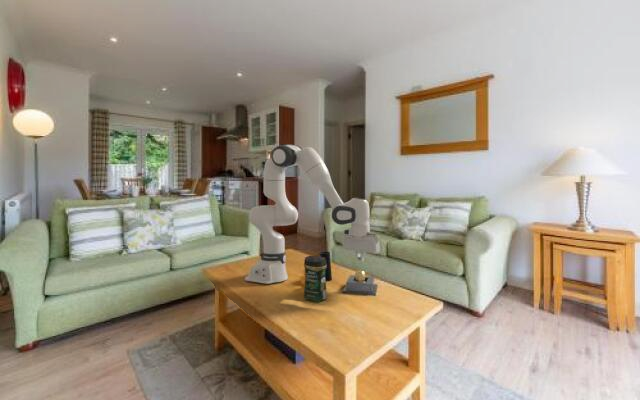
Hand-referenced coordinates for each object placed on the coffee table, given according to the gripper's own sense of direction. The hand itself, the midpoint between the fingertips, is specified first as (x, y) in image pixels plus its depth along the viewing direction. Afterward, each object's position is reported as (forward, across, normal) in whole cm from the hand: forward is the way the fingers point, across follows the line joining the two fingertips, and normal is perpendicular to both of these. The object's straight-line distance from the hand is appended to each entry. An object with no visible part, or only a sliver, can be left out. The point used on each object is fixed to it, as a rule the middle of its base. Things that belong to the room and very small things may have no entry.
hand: (360, 260), depth 136 cm
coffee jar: (+14, +6, +24) cm, 28 cm away
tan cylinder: (+13, 0, 0) cm, 13 cm away
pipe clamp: (+14, +23, +14) cm, 30 cm away
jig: (+14, 0, 0) cm, 14 cm away
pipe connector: (+14, +22, +5) cm, 26 cm away
